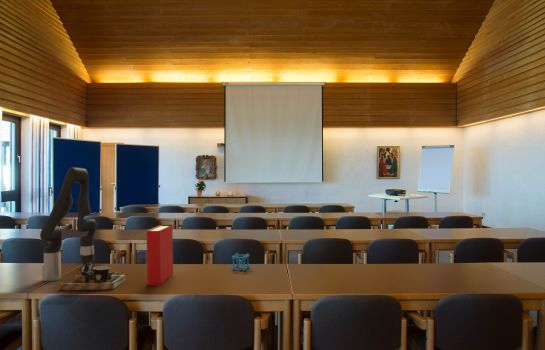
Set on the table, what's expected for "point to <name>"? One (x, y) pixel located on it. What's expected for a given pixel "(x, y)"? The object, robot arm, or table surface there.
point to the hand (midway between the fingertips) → (87, 282)
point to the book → (159, 254)
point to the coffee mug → (100, 274)
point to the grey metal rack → (91, 286)
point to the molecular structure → (240, 262)
